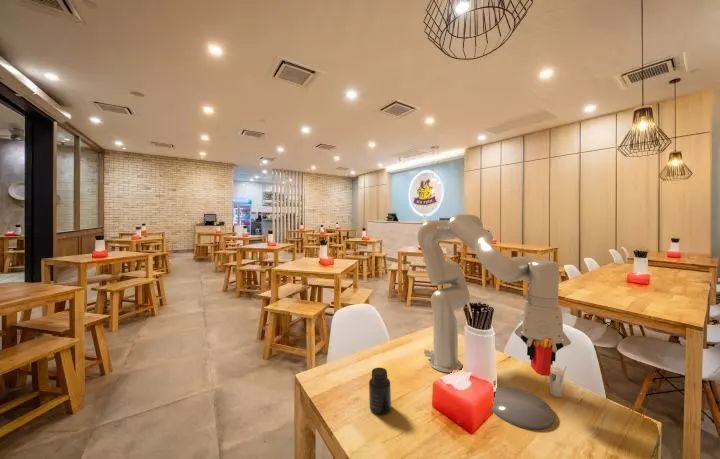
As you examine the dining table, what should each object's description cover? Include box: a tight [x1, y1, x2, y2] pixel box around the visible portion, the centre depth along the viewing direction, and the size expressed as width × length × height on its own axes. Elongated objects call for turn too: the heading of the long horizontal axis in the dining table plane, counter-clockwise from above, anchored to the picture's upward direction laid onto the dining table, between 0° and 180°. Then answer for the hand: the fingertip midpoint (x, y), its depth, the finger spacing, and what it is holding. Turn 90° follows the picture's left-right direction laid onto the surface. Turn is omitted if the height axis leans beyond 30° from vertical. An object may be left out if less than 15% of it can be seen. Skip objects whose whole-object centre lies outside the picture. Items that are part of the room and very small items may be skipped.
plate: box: [490, 386, 555, 431], centre depth 88 cm, size 18×18×2 cm
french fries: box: [530, 338, 553, 377], centre depth 85 cm, size 8×4×12 cm, turn 170°
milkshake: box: [548, 366, 567, 398], centre depth 94 cm, size 4×5×10 cm
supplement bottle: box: [368, 367, 392, 416], centre depth 88 cm, size 7×7×12 cm
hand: (540, 359), depth 85 cm, fingers closed on french fries, 4 cm apart
